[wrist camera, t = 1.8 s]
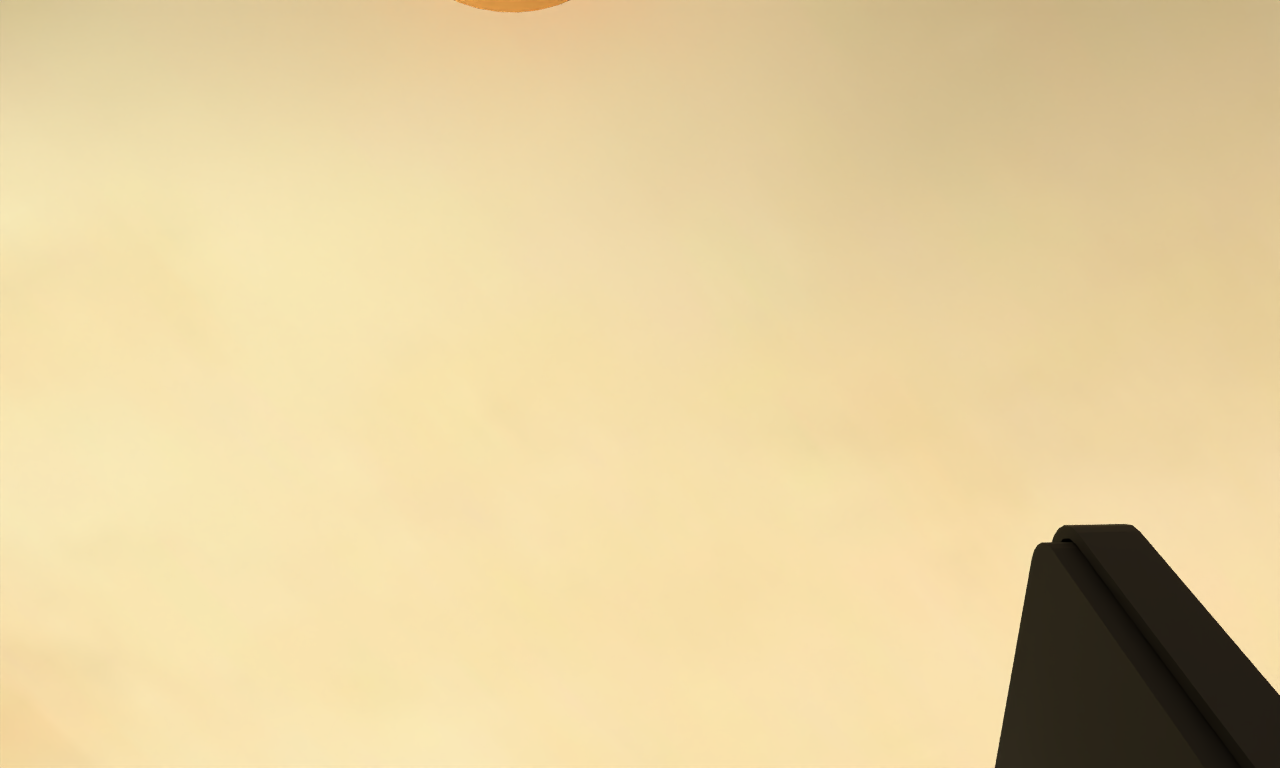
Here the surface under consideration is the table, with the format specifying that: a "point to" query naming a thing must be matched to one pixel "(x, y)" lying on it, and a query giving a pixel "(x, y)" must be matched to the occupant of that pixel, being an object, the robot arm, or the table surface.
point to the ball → (512, 4)
